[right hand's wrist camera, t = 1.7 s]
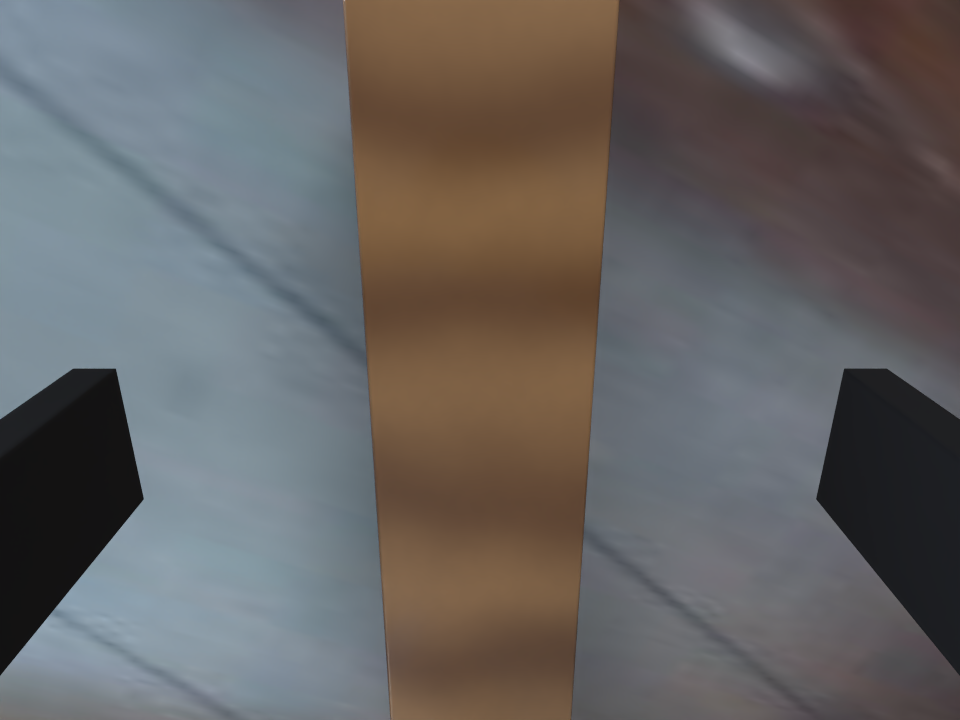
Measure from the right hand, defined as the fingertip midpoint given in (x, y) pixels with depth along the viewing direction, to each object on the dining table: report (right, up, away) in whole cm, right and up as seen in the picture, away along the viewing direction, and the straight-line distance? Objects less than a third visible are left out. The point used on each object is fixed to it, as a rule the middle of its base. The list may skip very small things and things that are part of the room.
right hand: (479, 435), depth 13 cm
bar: (0, -23, +23) cm, 33 cm away
